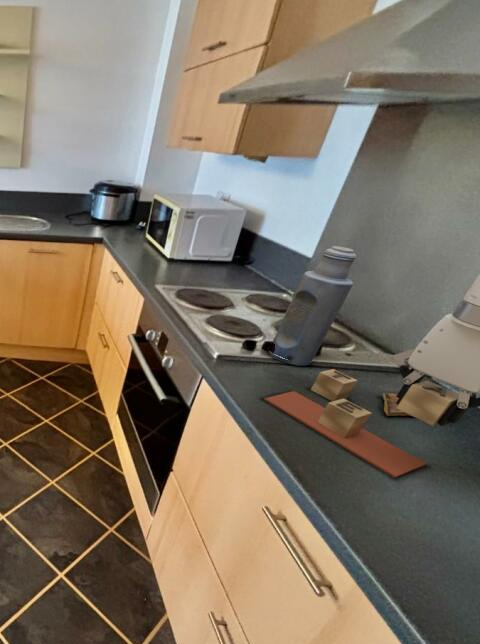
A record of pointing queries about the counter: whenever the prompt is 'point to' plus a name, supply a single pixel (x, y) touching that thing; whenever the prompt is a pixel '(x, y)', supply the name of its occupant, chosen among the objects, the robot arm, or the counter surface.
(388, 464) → the word mat
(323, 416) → the letter E
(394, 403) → the shard
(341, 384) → the letter T
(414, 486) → the counter surface
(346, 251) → the bottle
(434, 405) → the letter A
